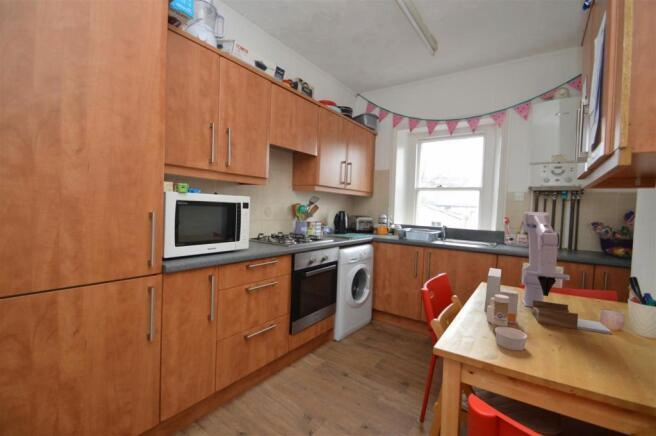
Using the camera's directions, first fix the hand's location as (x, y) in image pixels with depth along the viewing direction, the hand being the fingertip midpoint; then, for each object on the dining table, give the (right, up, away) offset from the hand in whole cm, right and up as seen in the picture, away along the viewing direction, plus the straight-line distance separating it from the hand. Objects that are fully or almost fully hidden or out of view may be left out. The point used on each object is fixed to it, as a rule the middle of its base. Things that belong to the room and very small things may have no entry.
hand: (545, 295), depth 118 cm
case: (+2, -10, -1) cm, 10 cm away
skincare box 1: (-13, -9, +16) cm, 22 cm away
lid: (+12, -11, -6) cm, 18 cm away
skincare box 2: (-17, -10, -2) cm, 20 cm away
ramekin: (-29, -10, -23) cm, 39 cm away
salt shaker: (-24, -10, -5) cm, 26 cm away
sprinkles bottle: (-27, -10, -14) cm, 32 cm away
